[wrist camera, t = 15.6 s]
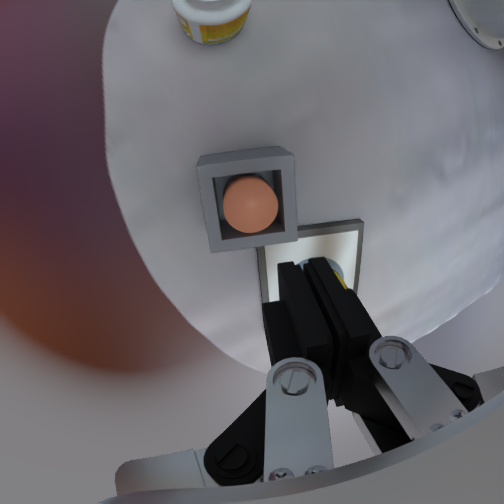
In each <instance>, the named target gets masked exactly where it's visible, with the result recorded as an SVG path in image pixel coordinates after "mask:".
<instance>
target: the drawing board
mask: <svg viewBox="0 0 504 504" xmlns="http://www.w3.org/2000/svg"><path fill="white" fill-rule="evenodd" d="M363 228H364V222H363V221H362V220H360V219H354V220H346V221H338V222H330V223H322V224H314V225H306V226H298V227H297V231H298V241H296V242H288V243H281V244H274V245H267V246H260V247H257V257H258V266H259V276H260V286H261V295H262V303H266V302H273V301H279V287H278V272H277V264H278V263H283V262H290V261H293V262H294V264H295V265H297V264H300V266H301V268H302V270H303V264H304V263H308V259H310V258H317V257H325V258H326V260H327V261H328V263H329V264H330V266H331V267H332V268H334V269H335V270H336V271H337V272H338V273H339V275H340V276H341V278H342V279H343V281H344V282H345V284H346V285H347V287H348V288H351V289H353V291H354V292H355V293H356V295H357V290H358V282H359V273H360V264H361V254H362V242H363Z"/></svg>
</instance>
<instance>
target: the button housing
mask: <svg viewBox="0 0 504 504" xmlns="http://www.w3.org/2000/svg"><path fill="white" fill-rule="evenodd" d="M196 169H197V175H198V182H199V188H200V194H201V200H202V205H203V211H204V217H205V223H206V228H207V234H208V239H209V245H210V250H211V253H217V252H224V251H231V250H239V249H246V248H253V247H260V246H267V245H274V244H281V243H288V242H296V241H298V231H297V206H296V187H295V169H294V155H293V154H292V153H290V152H288V151H287V150H285V149H283V148H282V147H280V146H277V147H266V148H257V149H248V150H239V151H231V152H224V153H217V154H210V155H203V156H200V158H199V161H198V163H197V166H196ZM244 173H255V174H258V175H260V176H261V177H263V178H264V179H265V180H266V181H267V183H268V184H269V186H270V187H271V189H272V190H273V192H274V193H275V195H276V197H277V201H278V212H277V215H276V217H275V219H274V221H273V222H272V223H271V224H270V225H269V226H268V227H267V228H265V229H263V230H261V231H259V232H254V233H245V232H241V231H239V230H236V229H235V228H233V227H232V226H231V225H230V224H229V223H228V221H227V220H226V218H225V215H224V208H223V191H224V188H225V186H226V184H227V182H228V181H229V180H230V179H231V178H232V177H234V176H236V175H238V174H244Z"/></svg>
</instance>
